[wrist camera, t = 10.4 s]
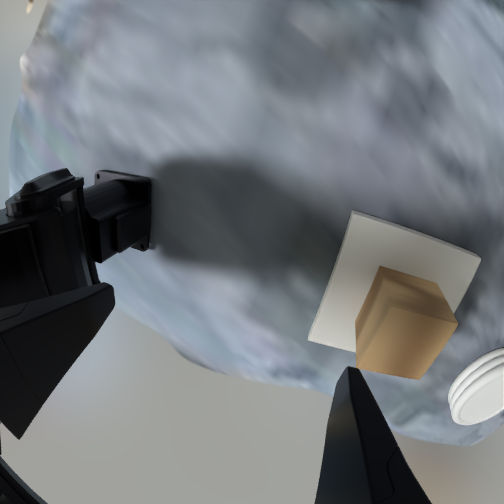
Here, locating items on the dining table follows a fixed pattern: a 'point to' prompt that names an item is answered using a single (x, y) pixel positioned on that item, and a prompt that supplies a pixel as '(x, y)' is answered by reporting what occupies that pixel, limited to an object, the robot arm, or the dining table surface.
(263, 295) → the dining table surface
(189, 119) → the dining table surface
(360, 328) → the oak cube
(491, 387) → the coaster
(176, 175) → the dining table surface
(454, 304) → the white board
